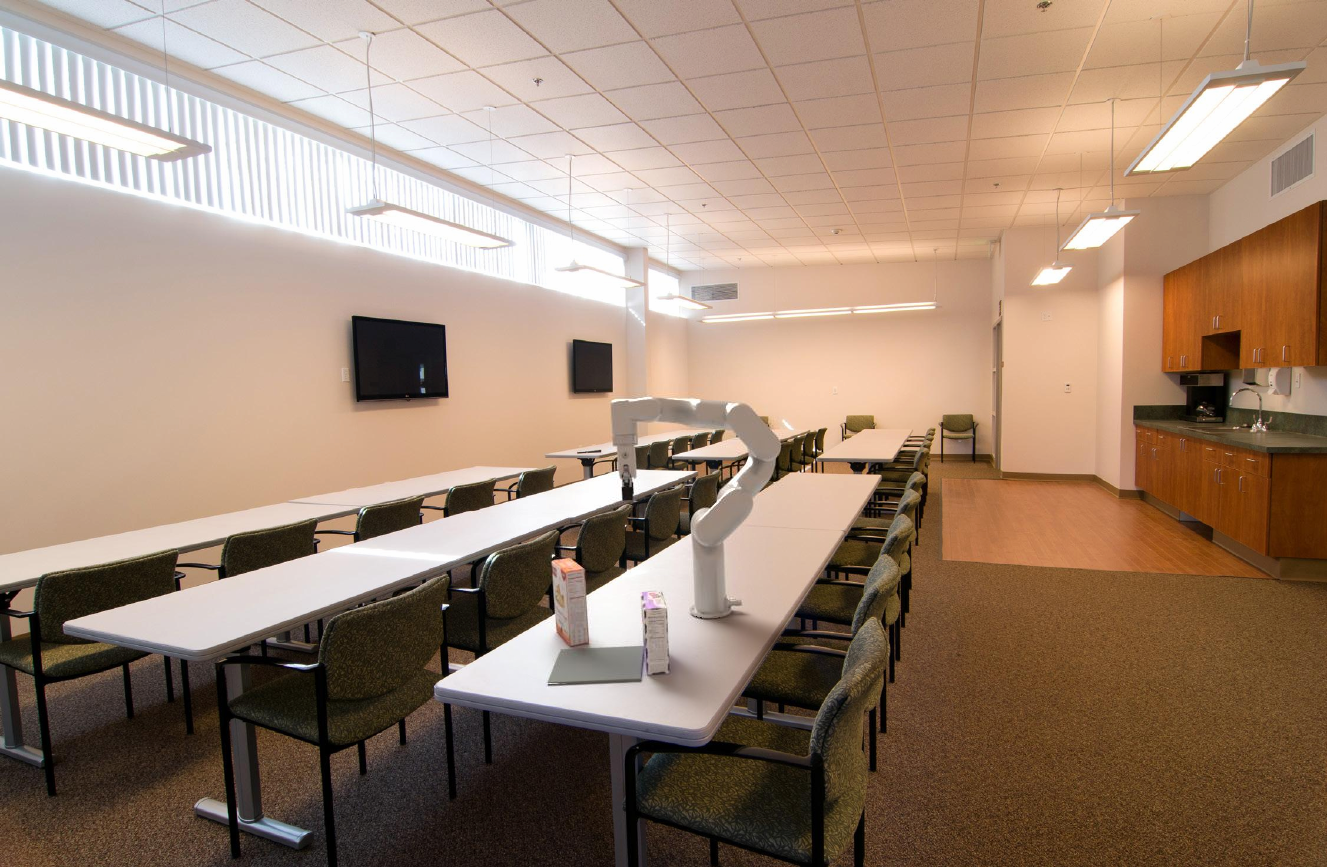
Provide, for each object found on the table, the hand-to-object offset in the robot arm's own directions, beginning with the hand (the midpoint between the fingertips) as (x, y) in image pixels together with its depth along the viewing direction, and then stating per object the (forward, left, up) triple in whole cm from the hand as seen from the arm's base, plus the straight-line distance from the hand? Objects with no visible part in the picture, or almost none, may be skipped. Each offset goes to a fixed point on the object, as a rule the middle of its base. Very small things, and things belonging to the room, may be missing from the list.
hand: (628, 497), depth 200 cm
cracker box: (+17, +15, -37) cm, 43 cm away
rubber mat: (+7, +35, -36) cm, 51 cm away
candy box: (-7, +35, -37) cm, 51 cm away
